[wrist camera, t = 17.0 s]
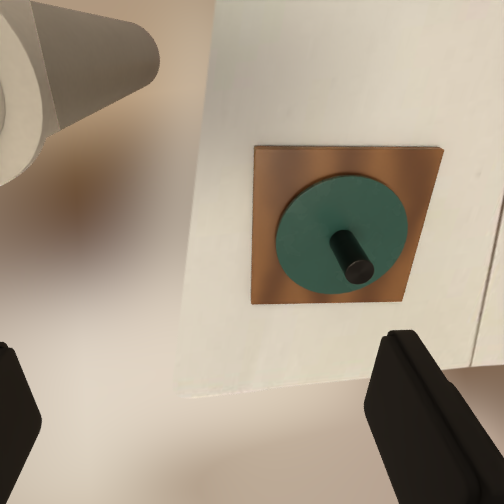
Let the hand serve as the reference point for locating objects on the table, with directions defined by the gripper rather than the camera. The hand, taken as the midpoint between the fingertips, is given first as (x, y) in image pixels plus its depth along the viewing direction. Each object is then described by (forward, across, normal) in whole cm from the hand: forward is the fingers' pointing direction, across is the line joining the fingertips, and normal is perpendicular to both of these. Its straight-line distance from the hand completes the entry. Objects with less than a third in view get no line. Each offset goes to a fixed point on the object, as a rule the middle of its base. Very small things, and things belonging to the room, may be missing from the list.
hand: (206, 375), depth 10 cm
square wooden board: (+28, -12, +10) cm, 32 cm away
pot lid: (+26, -12, +10) cm, 30 cm away
